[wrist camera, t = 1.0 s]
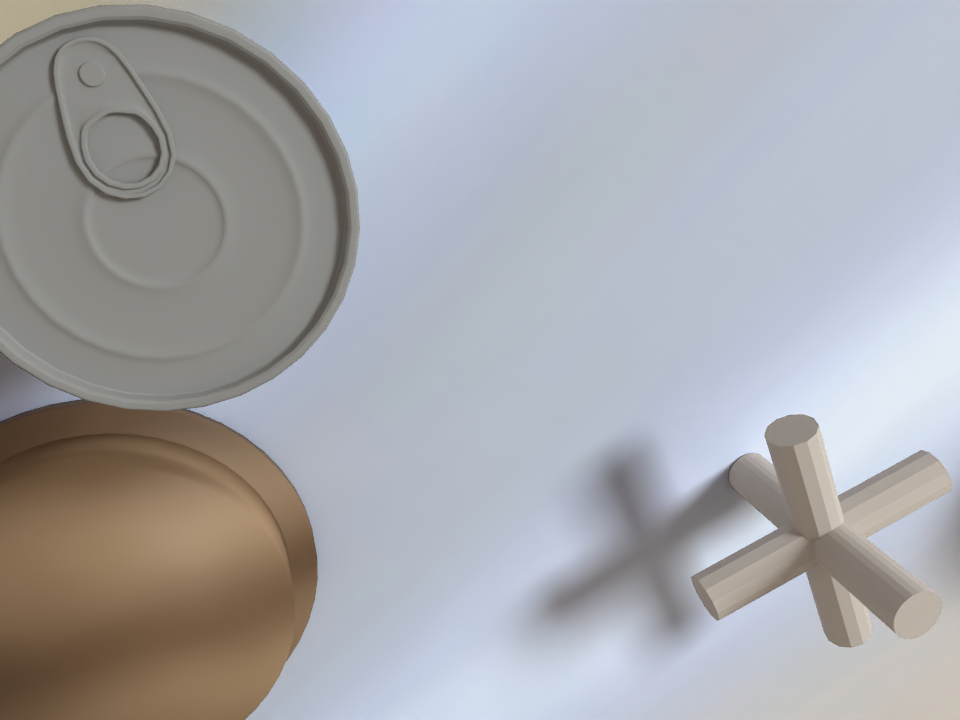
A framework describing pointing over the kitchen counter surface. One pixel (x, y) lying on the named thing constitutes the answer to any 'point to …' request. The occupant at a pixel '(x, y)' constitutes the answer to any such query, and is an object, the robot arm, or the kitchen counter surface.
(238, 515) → the pedestal
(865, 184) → the kitchen counter surface
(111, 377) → the canned tomato
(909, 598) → the pipe connector
